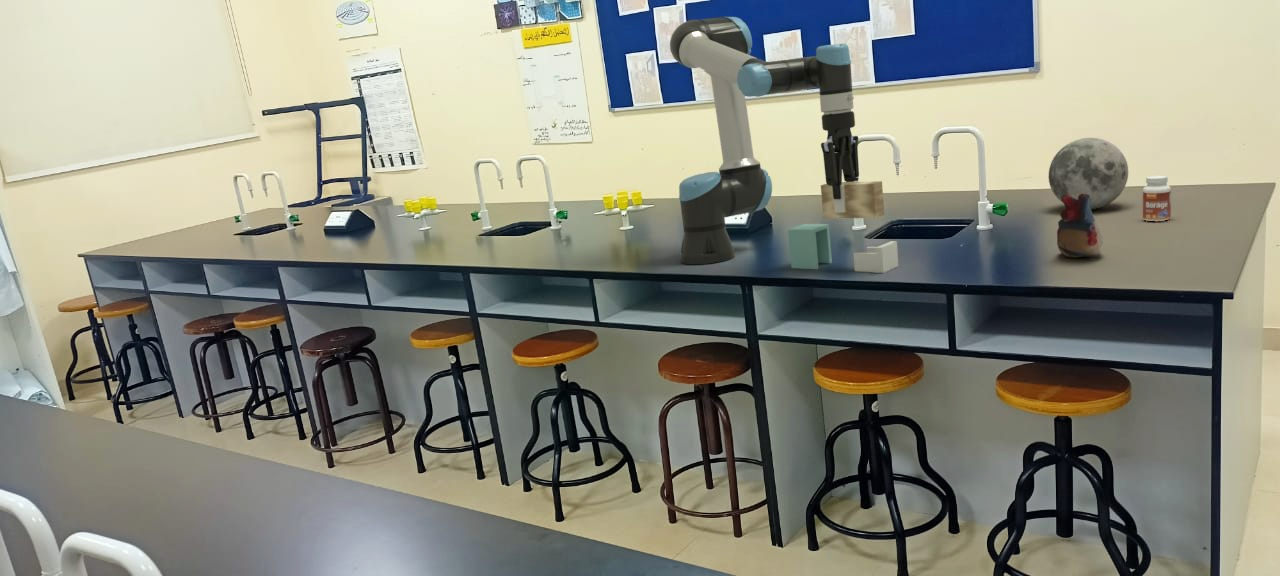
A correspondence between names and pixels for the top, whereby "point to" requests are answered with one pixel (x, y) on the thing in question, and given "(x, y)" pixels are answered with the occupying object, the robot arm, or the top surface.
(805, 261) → the cap
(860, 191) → the wooden block
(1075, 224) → the anatomical model
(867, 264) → the white stepped block
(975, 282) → the top surface
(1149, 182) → the pill bottle
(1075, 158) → the moon model
